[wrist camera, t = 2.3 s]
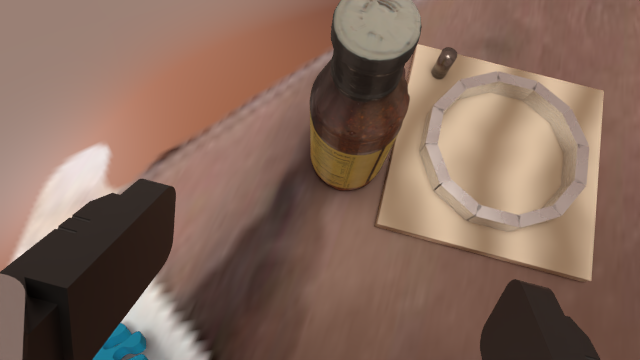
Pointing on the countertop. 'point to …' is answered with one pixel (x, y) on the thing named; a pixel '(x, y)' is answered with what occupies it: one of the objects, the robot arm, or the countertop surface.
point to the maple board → (493, 169)
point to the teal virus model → (122, 345)
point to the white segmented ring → (541, 103)
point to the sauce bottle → (362, 90)
